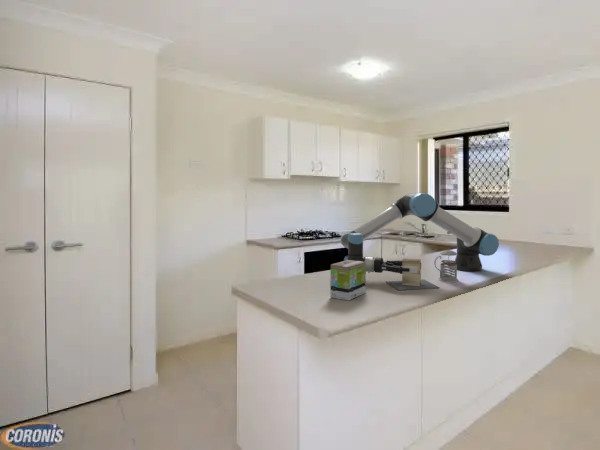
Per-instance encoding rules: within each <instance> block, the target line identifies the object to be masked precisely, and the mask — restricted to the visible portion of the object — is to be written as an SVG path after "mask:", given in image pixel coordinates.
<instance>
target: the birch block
mask: <svg viewBox="0 0 600 450" xmlns="http://www.w3.org/2000/svg"><path fill="white" fill-rule="evenodd" d="M421 260H422V259H421V258H405V257H404V258H403V259H402V268H403V266H407V267H417V273H406V272H403V271H402V274H401V276H402V277H401V279H402V280H401V281H402V285H412V286H420V284H421V280H422V279H421V277H422V276H421V274H422V273H421V272H422V262H421Z"/></svg>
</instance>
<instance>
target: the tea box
mask: <svg viewBox="0 0 600 450" xmlns="http://www.w3.org/2000/svg"><path fill="white" fill-rule="evenodd" d="M366 273H367V272H366V262H362V261H354V260H345V261H344V260H343V261H340V262H335V263H332V264H330V279H329V280H330V285H329V286H330V298H333V299H339V300H344V301H351V300H353V299H354V298H357V297H359V296H361V295H362V296H363V295H364V294H366V286H367V285H366V284H367V283H366V276H367V274H366Z"/></svg>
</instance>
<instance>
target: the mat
mask: <svg viewBox="0 0 600 450" xmlns="http://www.w3.org/2000/svg"><path fill="white" fill-rule="evenodd" d="M385 283H386V284H388V285H389V286H391V287H393V288H394V289H395V290H396V291H413V290H414V291H415V290H431V289H432V290H433V289H440V287H439V286H438V285H437V284H434V283H432V282H430V281H428V280H426V279H424V278H423V279H421V284H420V286H412V285H402V280H387V281H385Z"/></svg>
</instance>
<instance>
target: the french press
mask: <svg viewBox="0 0 600 450" xmlns="http://www.w3.org/2000/svg"><path fill="white" fill-rule="evenodd" d="M446 234H448V235H452V234H451V232H450V231H448V232H447V231H446ZM439 254H440V255H438V256H437V257H436V258H435V259H434V268H436V269H437V271H439V278H438V281H439V282H441V283H451V284H452V283H453V284H454V283H458V282H459V283H460V281H459V279H458V273H457V272H458V270H457V264H454V263H456V261H455V260H452V259H450V256H452V257H453V256H457V251H453V250H450V249H448V250H443V251H441V252H440V253H439ZM442 256H448V259H443V260H442ZM438 259H440V260H441V263H440V269H439V268H438V266H436V263H437V262H436V261H437V260H438Z"/></svg>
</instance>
